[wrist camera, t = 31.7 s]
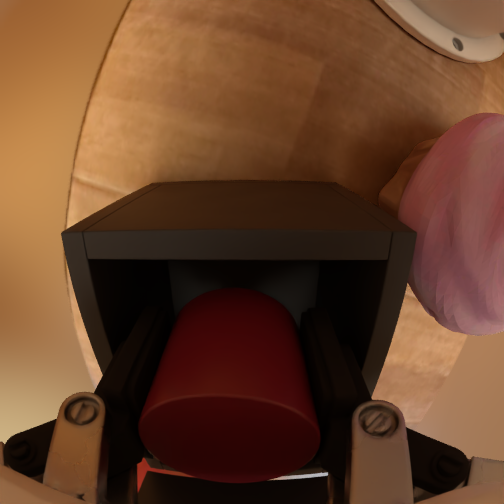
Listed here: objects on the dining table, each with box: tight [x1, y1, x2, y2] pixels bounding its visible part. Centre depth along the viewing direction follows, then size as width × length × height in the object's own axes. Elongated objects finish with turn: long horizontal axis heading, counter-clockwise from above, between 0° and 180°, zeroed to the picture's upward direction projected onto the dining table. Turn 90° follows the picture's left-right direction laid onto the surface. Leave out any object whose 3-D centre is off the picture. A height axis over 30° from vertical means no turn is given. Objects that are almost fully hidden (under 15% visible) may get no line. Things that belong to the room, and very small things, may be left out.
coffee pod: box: [138, 288, 321, 483], centre depth 8 cm, size 4×4×4 cm
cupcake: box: [378, 113, 504, 336], centre depth 10 cm, size 9×9×10 cm
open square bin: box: [61, 180, 417, 476], centre depth 13 cm, size 13×10×8 cm
